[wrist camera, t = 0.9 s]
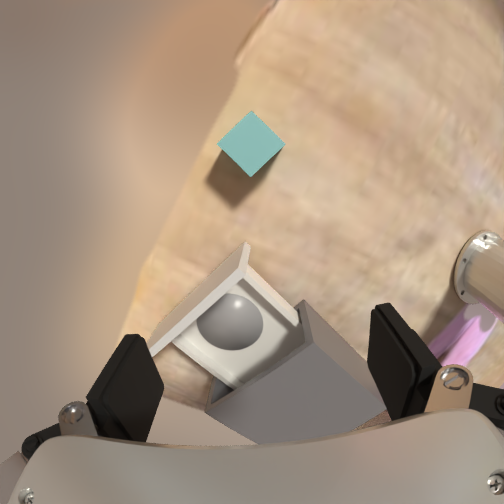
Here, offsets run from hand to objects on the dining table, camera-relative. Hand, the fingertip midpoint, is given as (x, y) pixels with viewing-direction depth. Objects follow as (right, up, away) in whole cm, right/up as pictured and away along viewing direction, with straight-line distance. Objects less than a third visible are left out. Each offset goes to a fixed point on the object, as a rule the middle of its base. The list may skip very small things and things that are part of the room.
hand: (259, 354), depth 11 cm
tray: (-1, -7, +29) cm, 30 cm away
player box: (+7, -15, +31) cm, 35 cm away
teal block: (0, +17, +22) cm, 27 cm away
